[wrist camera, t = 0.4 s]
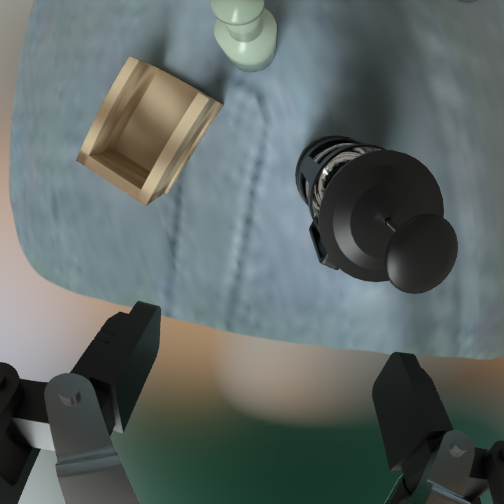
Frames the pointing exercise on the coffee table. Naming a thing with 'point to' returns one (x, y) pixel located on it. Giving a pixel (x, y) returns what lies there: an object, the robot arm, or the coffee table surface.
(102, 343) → the robot arm
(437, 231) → the french press
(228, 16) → the pale green pin
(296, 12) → the coffee table surface
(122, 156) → the u rest
